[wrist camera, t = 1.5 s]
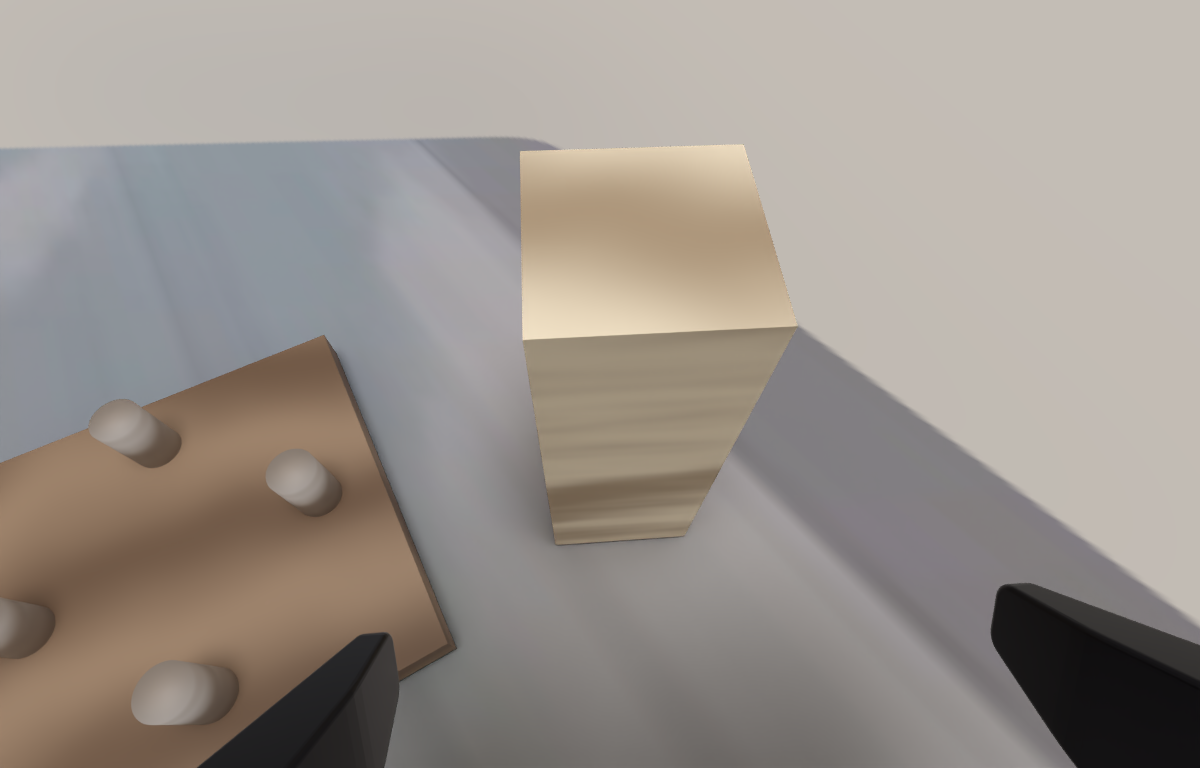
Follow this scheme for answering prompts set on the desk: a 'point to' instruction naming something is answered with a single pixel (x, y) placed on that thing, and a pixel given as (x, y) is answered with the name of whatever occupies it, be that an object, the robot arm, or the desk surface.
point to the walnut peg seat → (197, 567)
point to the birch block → (644, 328)
